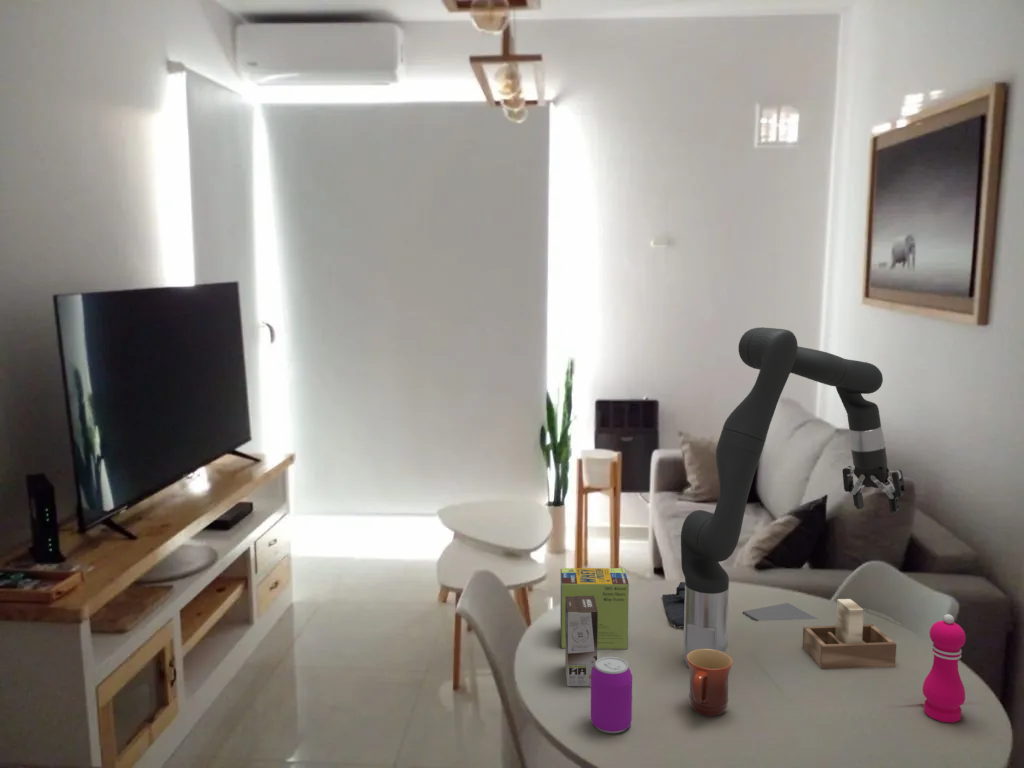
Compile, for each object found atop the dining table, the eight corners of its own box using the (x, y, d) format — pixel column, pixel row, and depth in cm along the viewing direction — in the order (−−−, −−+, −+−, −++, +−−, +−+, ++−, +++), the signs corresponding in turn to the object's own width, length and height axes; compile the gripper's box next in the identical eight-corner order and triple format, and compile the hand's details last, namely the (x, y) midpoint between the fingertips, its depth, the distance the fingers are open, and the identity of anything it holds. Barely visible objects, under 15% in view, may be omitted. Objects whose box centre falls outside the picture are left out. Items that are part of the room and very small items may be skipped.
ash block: (834, 650, 180) (837, 599, 179) (847, 650, 180) (850, 598, 179) (847, 663, 174) (850, 610, 173) (860, 663, 175) (863, 609, 173)
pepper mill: (947, 728, 151) (954, 625, 148) (912, 710, 157) (918, 611, 154) (972, 718, 154) (979, 617, 151) (937, 701, 160) (943, 604, 158)
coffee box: (598, 687, 167) (598, 612, 165) (566, 686, 167) (566, 612, 165) (594, 666, 176) (594, 594, 174) (564, 666, 176) (564, 594, 174)
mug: (694, 693, 164) (695, 644, 163) (737, 704, 159) (738, 655, 158) (672, 720, 154) (673, 669, 153) (717, 733, 149) (719, 680, 148)
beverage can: (582, 725, 152) (582, 664, 151) (606, 709, 158) (606, 650, 156) (616, 740, 147) (616, 678, 146) (639, 723, 153) (640, 663, 151)
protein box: (628, 649, 183) (629, 583, 181) (560, 649, 184) (560, 583, 182) (624, 629, 194) (624, 567, 192) (559, 629, 194) (559, 567, 192)
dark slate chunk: (660, 630, 194) (661, 611, 194) (662, 596, 216) (662, 578, 215) (726, 635, 191) (727, 616, 191) (721, 600, 213) (722, 582, 212)
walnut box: (802, 651, 182) (803, 626, 181) (871, 648, 183) (872, 624, 182) (822, 672, 172) (823, 646, 171) (894, 669, 173) (896, 644, 172)
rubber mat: (840, 632, 191) (840, 630, 191) (792, 642, 186) (793, 640, 186) (787, 604, 208) (787, 602, 208) (742, 613, 203) (742, 611, 203)
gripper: (831, 448, 197) (841, 512, 199) (888, 451, 185) (898, 519, 187) (848, 440, 201) (857, 502, 203) (904, 442, 190) (914, 508, 192)
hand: (877, 510), depth 195 cm, fingers open, 8 cm apart
